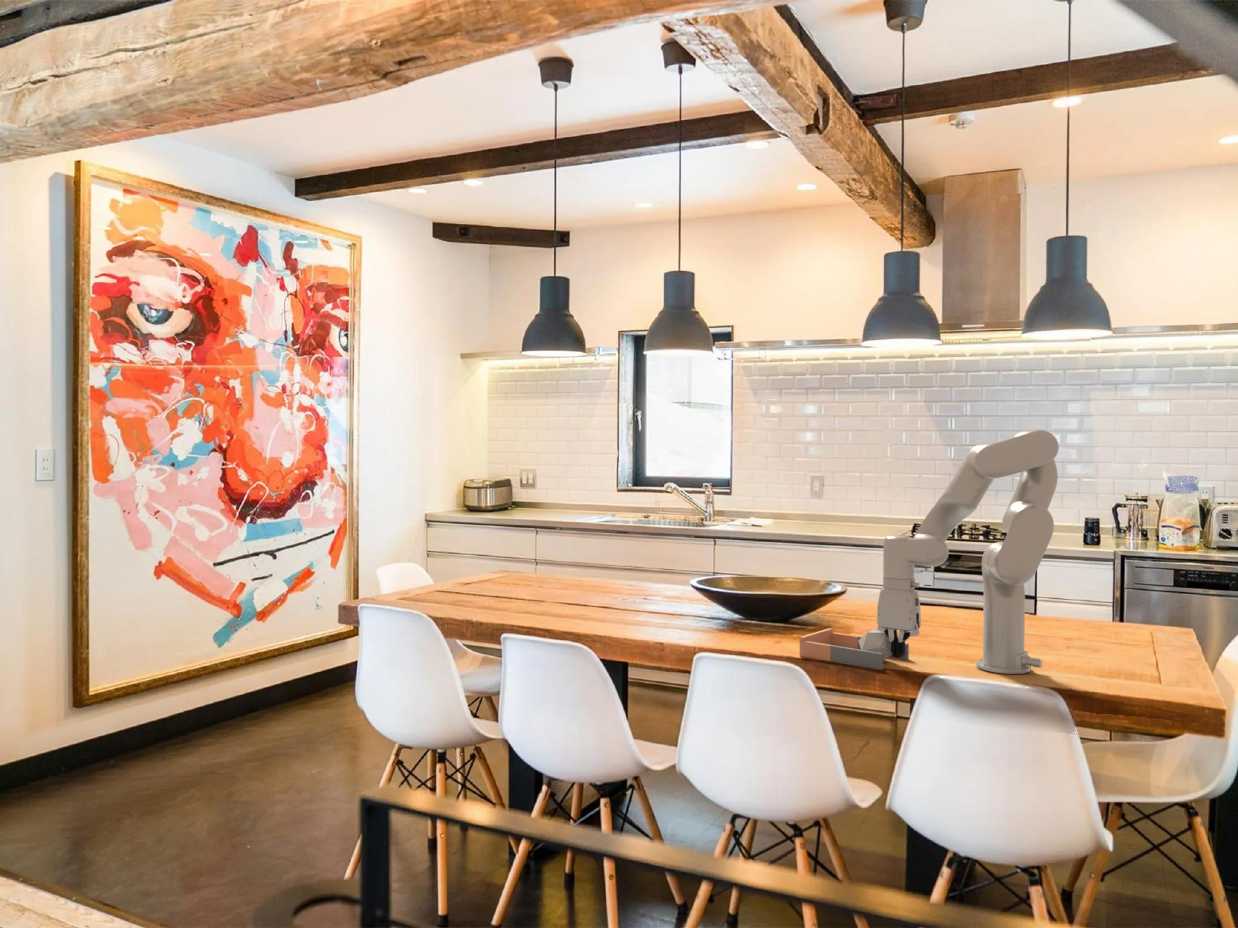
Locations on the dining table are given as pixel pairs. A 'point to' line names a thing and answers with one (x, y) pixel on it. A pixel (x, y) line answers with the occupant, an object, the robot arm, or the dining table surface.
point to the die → (876, 643)
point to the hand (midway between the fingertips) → (897, 656)
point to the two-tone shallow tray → (841, 649)
